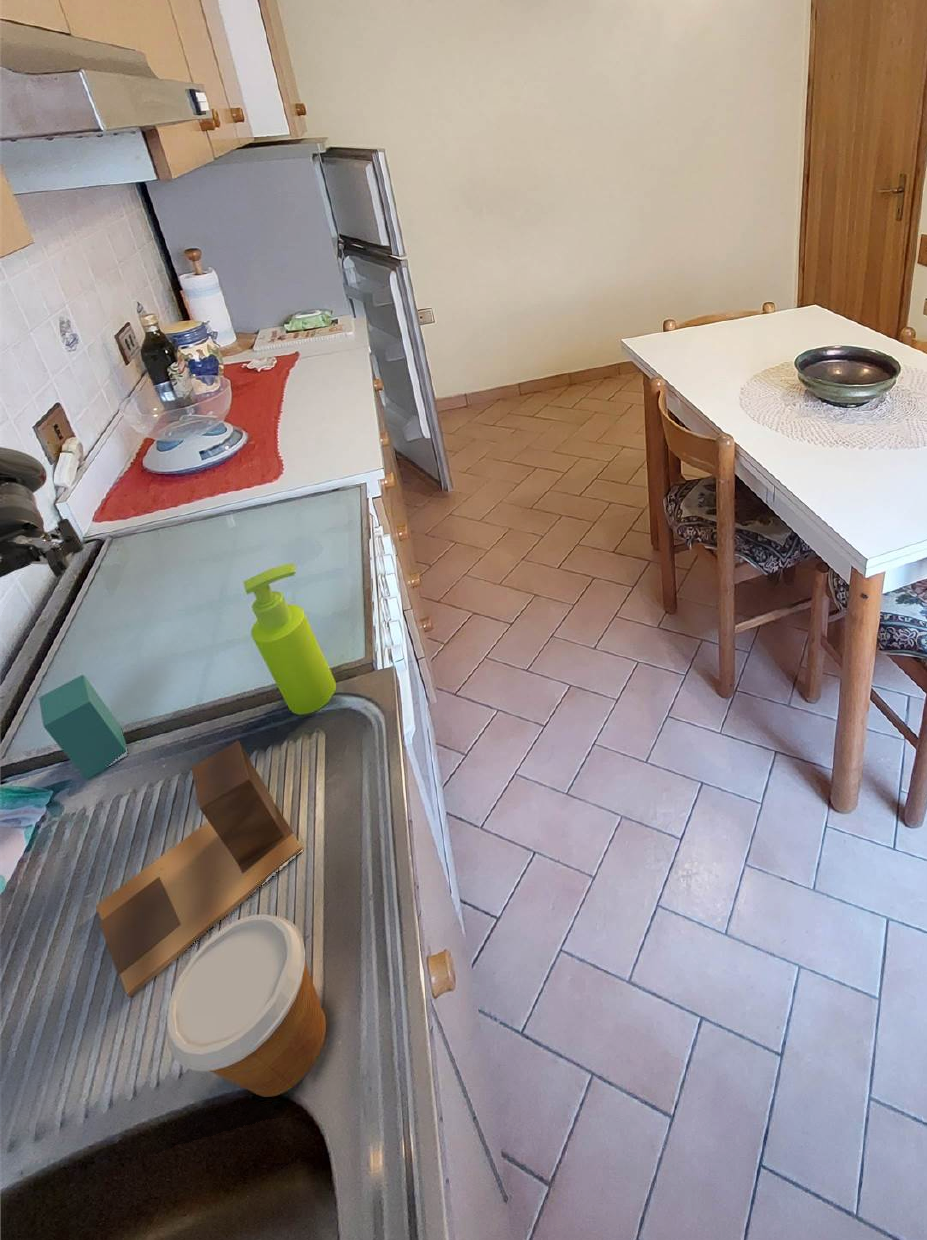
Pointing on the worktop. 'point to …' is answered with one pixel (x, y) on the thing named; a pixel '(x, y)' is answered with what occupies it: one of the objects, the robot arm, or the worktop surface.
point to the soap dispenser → (289, 645)
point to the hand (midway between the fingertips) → (13, 589)
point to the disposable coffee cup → (248, 1007)
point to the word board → (182, 900)
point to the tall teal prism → (82, 726)
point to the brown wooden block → (236, 802)
